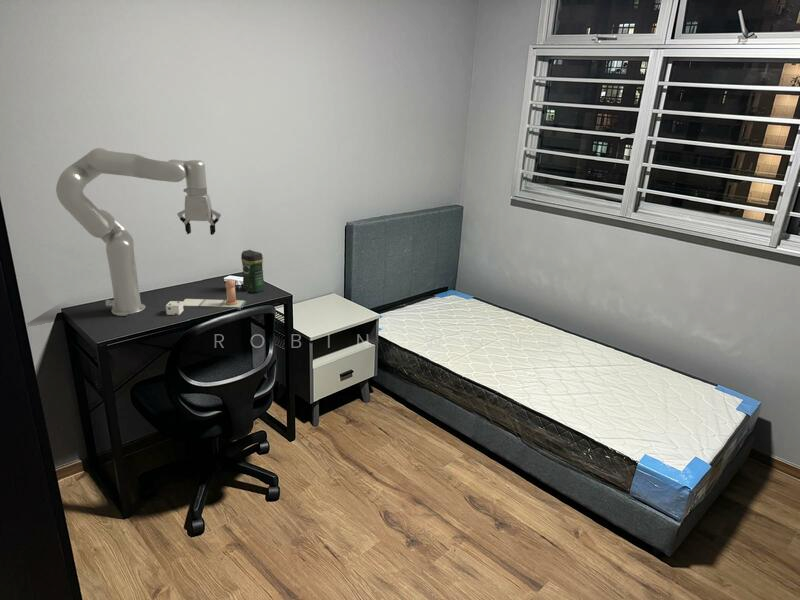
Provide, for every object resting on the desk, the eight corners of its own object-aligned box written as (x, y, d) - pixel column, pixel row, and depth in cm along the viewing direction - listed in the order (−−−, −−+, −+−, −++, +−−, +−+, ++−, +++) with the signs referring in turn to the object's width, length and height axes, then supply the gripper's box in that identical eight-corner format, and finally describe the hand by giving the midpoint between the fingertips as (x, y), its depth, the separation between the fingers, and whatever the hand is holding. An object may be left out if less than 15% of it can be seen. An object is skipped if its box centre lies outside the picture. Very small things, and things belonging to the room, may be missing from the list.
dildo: (224, 305, 236) (222, 281, 232) (227, 301, 240) (225, 277, 237) (235, 305, 236) (234, 281, 232) (238, 301, 240) (237, 278, 237)
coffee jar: (267, 290, 258) (265, 251, 252) (253, 294, 252) (251, 254, 246) (254, 285, 264) (252, 247, 258) (240, 289, 258) (237, 250, 252)
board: (177, 308, 234) (177, 305, 233) (184, 300, 242) (184, 298, 242) (240, 309, 234) (240, 307, 234) (246, 302, 243) (245, 300, 242)
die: (166, 317, 224) (165, 304, 222) (171, 312, 229) (170, 300, 227) (179, 317, 224) (178, 305, 222) (183, 312, 229) (182, 300, 227)
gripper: (172, 192, 221) (176, 235, 227) (216, 194, 221) (219, 236, 227) (178, 189, 228) (182, 231, 234) (221, 191, 228) (224, 232, 234)
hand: (200, 233), depth 231 cm, fingers open, 9 cm apart
